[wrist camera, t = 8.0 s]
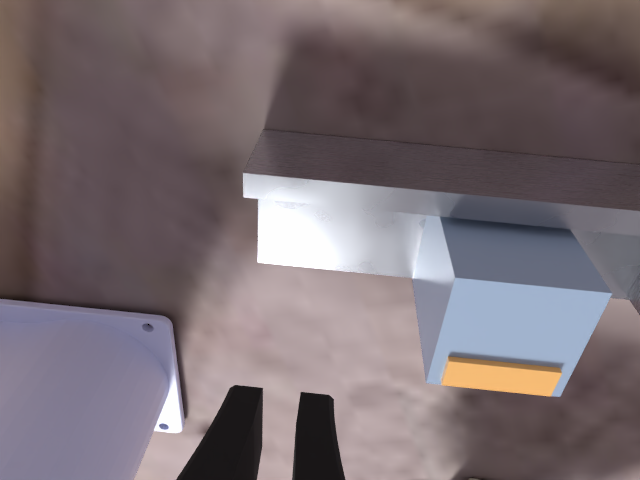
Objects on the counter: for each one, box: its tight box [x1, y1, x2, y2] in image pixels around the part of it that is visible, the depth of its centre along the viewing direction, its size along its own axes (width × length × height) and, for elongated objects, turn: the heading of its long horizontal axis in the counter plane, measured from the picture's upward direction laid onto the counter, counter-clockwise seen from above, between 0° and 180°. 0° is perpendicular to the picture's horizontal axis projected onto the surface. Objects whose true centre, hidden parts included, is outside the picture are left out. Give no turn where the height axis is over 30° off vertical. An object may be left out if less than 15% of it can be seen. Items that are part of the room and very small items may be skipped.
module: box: [412, 215, 612, 397], centre depth 16 cm, size 4×4×5 cm
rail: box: [243, 129, 640, 314], centre depth 16 cm, size 18×5×6 cm, turn 86°
